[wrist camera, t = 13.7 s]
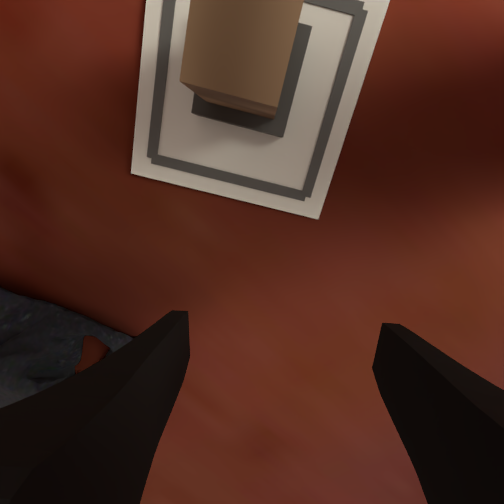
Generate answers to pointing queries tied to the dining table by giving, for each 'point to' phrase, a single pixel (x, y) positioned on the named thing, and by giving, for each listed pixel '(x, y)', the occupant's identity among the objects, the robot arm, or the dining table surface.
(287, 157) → the print card
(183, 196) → the dining table surface
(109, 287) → the dining table surface
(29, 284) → the dining table surface
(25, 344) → the dark slate chunk
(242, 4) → the stamp
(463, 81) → the dining table surface
